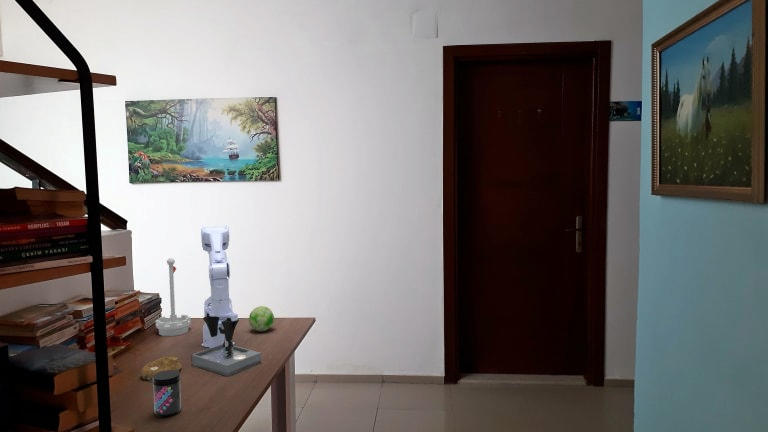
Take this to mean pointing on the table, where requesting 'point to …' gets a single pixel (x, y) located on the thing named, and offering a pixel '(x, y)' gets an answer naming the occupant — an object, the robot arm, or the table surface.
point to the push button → (226, 343)
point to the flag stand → (173, 312)
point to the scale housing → (227, 361)
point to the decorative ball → (261, 318)
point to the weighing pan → (220, 355)
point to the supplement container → (167, 393)
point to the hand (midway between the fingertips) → (221, 338)
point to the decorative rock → (160, 367)
